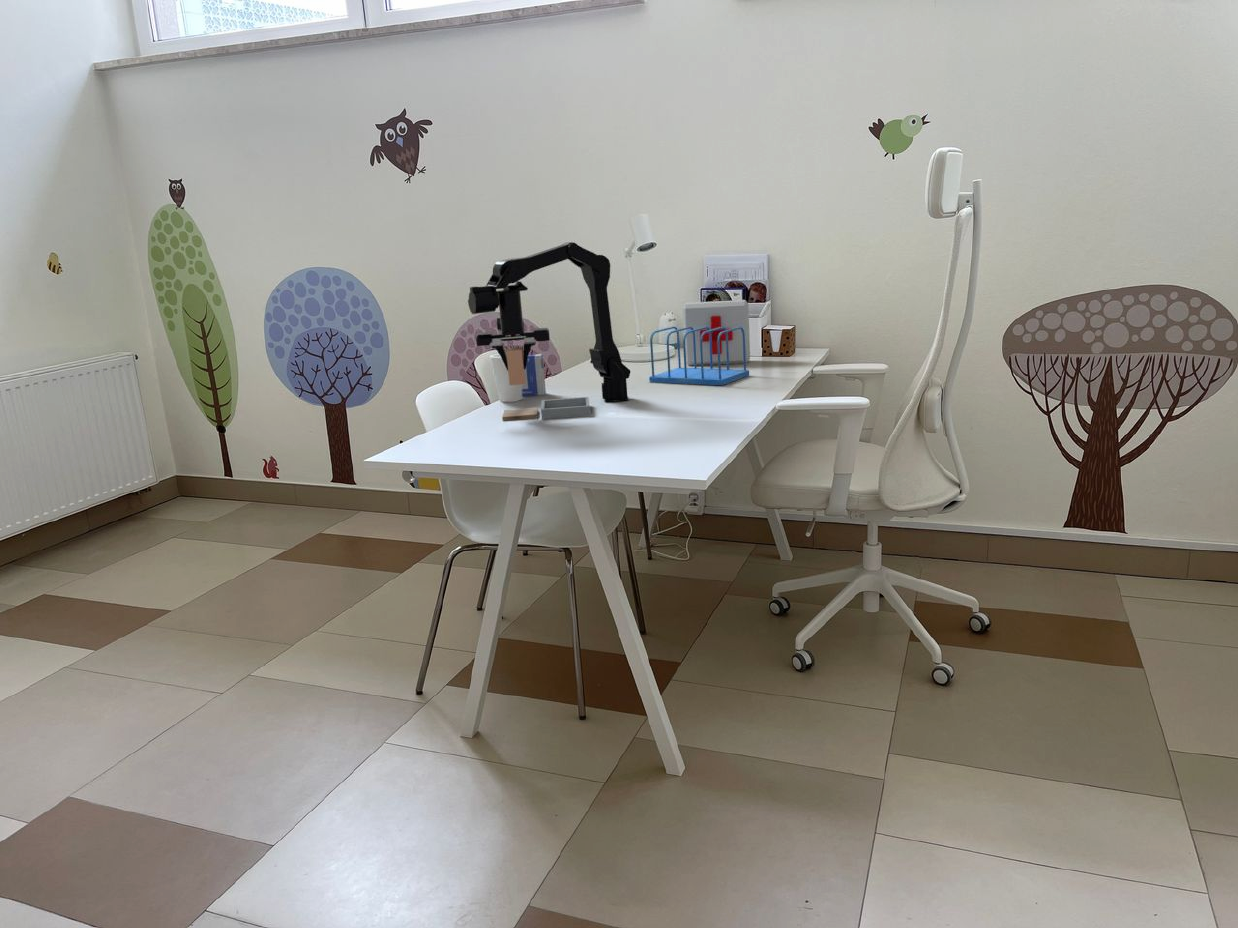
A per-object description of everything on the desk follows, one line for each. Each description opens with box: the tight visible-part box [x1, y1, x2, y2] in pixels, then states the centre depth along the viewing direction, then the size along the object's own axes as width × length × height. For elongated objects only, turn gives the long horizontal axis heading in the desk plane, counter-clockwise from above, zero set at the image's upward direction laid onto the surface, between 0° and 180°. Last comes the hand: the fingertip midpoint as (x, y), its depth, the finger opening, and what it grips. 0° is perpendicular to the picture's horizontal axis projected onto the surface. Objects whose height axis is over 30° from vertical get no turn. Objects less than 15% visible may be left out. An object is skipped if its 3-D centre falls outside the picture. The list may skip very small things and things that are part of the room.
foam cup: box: [489, 353, 523, 403], centre depth 270 cm, size 10×9×13 cm
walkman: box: [522, 353, 547, 397], centre depth 276 cm, size 8×3×12 cm, turn 85°
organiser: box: [540, 396, 591, 420], centre depth 249 cm, size 13×13×2 cm
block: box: [505, 346, 526, 385], centre depth 246 cm, size 4×5×9 cm
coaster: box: [502, 407, 539, 422], centre depth 249 cm, size 9×9×1 cm
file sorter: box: [648, 326, 750, 386], centre depth 282 cm, size 25×17×15 cm
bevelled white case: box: [681, 299, 751, 367], centre depth 306 cm, size 21×8×20 cm, turn 80°
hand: (516, 369), depth 246 cm, fingers closed on block, 4 cm apart
